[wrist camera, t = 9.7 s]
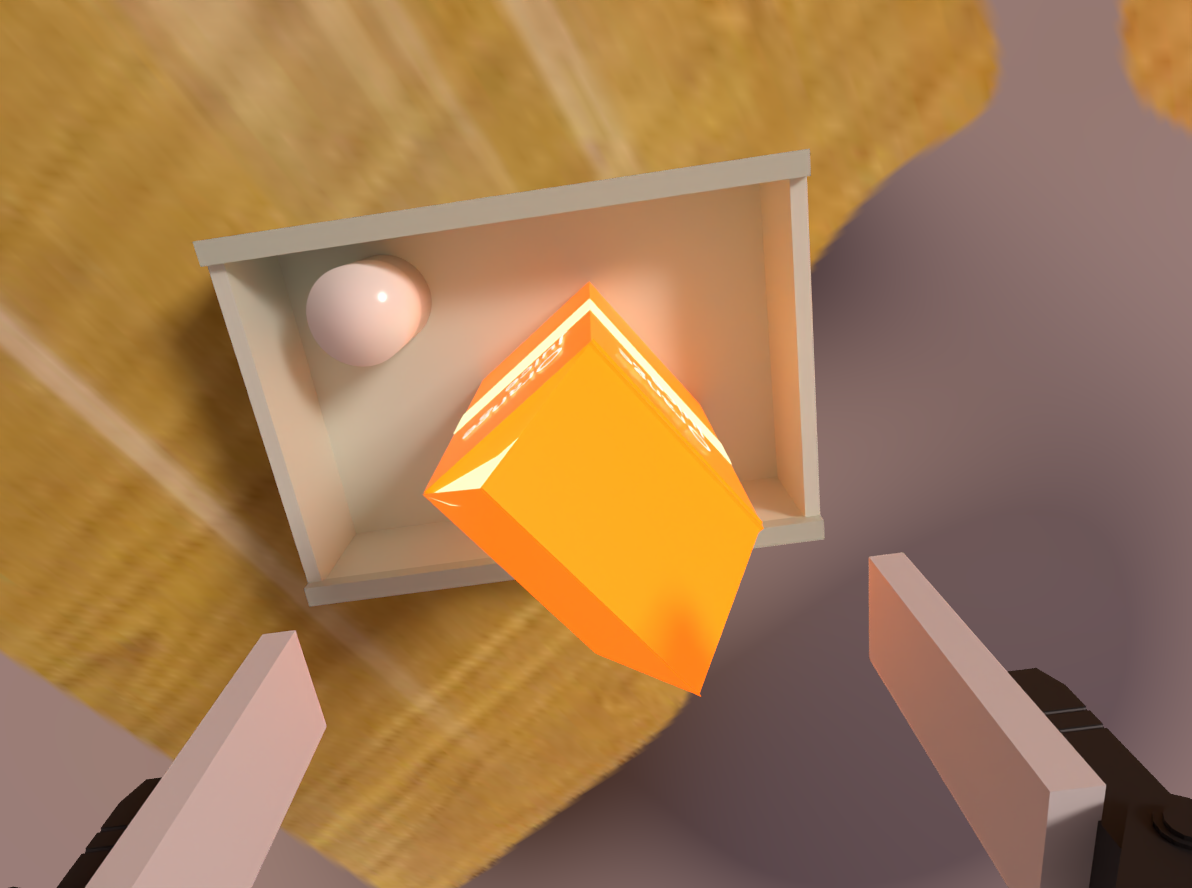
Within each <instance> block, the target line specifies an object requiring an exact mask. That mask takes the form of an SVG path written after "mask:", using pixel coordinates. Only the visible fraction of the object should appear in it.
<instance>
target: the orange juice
mask: <svg viewBox="0 0 1192 888" xmlns="http://www.w3.org/2000/svg"><path fill="white" fill-rule="evenodd" d="M453 434H454V436H453V438H452V440H451V442H450V444H449V446H448V448H447V449H446V451H445V453H444V455H443V457H442V459H441V461H440V463H439V465H438V466H437V468H436V470H435V472H434V474H433V476H432V478H431V480H430V482H429V483H428V485H427V487H426V489H425V491H424V494H423V495H424V496H425V497H426V498H427V499H428V500H429V501H430V502H431V503H432V504H433V505H434V506H436V507H437V508H438V509H439V510H440V511H441V512H442V513H443V514H444V515H445V516H446V517H448V518H449V519H450V520H451V521H452V522H453V523H454V524H455V525H456V526H457V527H458V528H460V529H461V530H462V531H463V532H464V533H465V534H466V535H467V536H468V537H469V538H470V539H472V540H473V541H474V542H475V543H476V544H477V545H478V546H479V547H480V548H481V549H482V550H484V551H485V552H486V553H487V554H488V555H489V556H490V557H491V558H492V559H493V560H494V561H496V562H497V563H498V564H499V565H500V566H501V567H502V568H503V569H504V570H505V571H506V572H507V573H509V574H510V575H511V576H512V577H513V578H514V579H515V580H516V581H517V582H518V583H519V584H521V585H522V586H523V587H524V588H525V589H526V590H527V591H528V592H529V593H530V594H531V595H533V596H534V597H535V598H536V599H537V600H538V601H539V602H540V603H541V604H542V605H543V606H545V607H546V608H547V609H548V610H549V611H550V612H551V613H552V614H553V615H554V616H555V617H557V618H558V619H559V620H560V621H561V622H562V623H563V624H564V625H565V626H566V627H567V628H569V629H570V630H571V631H572V632H573V633H574V634H575V635H576V636H577V637H578V638H579V639H580V640H582V641H583V642H584V643H585V644H586V645H587V646H588V647H589V648H590V649H591V650H592V651H594V652H595V653H596V654H598V655H601V656H603V657H606V658H608V659H610V660H613V661H615V662H618V663H620V664H623V665H625V666H628V667H630V668H633V669H635V670H637V671H640V672H642V673H645V674H647V675H650V676H652V677H655V678H657V679H660V680H662V681H664V682H667V683H669V684H672V685H674V686H677V687H679V688H682V689H684V690H687V691H689V692H692V693H694V694H696V695H698V696H700V694H699V693H700V690H701V688H702V685H703V682H704V680H705V677H706V674H707V671H708V669H709V666H710V663H711V661H712V658H713V655H714V652H715V650H716V647H717V644H718V641H719V639H720V636H721V633H722V630H723V628H724V625H725V622H726V620H727V617H728V614H729V612H730V609H731V606H732V603H733V600H734V598H735V595H736V592H737V590H738V587H739V584H740V582H741V579H742V576H743V573H744V570H745V568H746V565H747V563H748V560H749V557H750V554H751V552H752V549H753V546H754V544H755V541H756V538H757V535H758V533H759V532H760V531H761V530H763V529H764V528H763V526H762V521H761V520H760V519H759V517H758V516H757V514H756V512H755V510H754V508H753V506H752V504H751V503H750V501H749V499H748V497H747V495H746V493H745V491H744V489H743V487H742V485H741V483H740V481H739V479H738V477H737V475H736V473H735V472H734V470H733V468H732V466H731V464H732V463H731V461H730V459H729V458H728V456H727V454H726V452H725V450H724V448H723V446H722V444H721V443H720V442H719V440H718V439H717V437H716V435H715V433H714V431H713V429H712V427H711V425H710V423H709V421H708V419H707V417H706V415H705V413H704V411H703V410H702V408H701V406H700V404H699V403H698V402H697V401H696V400H695V399H694V398H693V396H692V395H691V394H690V393H689V392H688V391H687V390H686V389H685V388H684V386H683V385H682V384H681V383H680V382H679V381H678V380H677V379H676V378H675V376H674V375H673V374H672V373H671V372H670V371H669V370H668V369H667V368H666V366H665V365H664V364H663V363H662V362H661V361H660V360H659V359H658V358H657V356H656V355H655V354H654V353H653V352H652V351H651V350H650V349H649V348H648V346H647V345H646V344H645V343H644V342H643V341H642V340H641V339H640V338H639V336H638V335H637V334H636V333H635V332H634V331H633V330H632V329H631V328H630V326H629V325H628V324H627V323H626V322H625V321H624V320H623V319H622V318H621V316H620V315H619V314H618V313H617V312H616V311H615V310H614V309H613V308H612V306H611V305H610V304H609V303H608V302H607V301H606V300H605V299H604V298H603V296H602V295H601V294H600V293H599V292H598V291H597V290H596V289H595V288H594V286H593V285H592V284H591V283H590V282H588V283H587V284H586V285H585V286H584V287H583V288H582V289H581V290H579V291H578V292H577V293H576V294H575V295H574V296H573V297H572V298H571V299H570V300H569V301H568V302H567V303H566V304H564V305H563V306H562V307H561V308H560V309H559V310H558V311H557V312H556V313H555V314H554V315H553V316H552V317H550V318H549V319H548V320H547V321H546V322H545V323H544V324H543V325H542V326H541V327H540V328H539V329H538V330H537V331H535V332H534V333H533V334H532V335H531V336H530V337H529V338H528V339H527V340H526V341H525V342H524V343H523V344H521V345H520V346H519V347H518V348H517V349H516V350H515V351H514V352H513V353H512V354H511V355H510V356H509V357H507V358H506V359H505V360H504V361H503V362H502V363H501V364H500V365H499V366H498V367H497V368H496V369H495V370H494V371H492V372H491V373H490V374H489V375H488V376H487V377H486V378H485V379H484V380H483V381H482V383H481V385H480V387H479V389H478V391H477V393H476V395H475V396H474V398H473V400H472V402H471V404H470V406H469V408H468V410H467V412H466V413H465V414H464V415H463V417H462V418H461V420H460V422H459V424H458V426H457V428H456V430H455V432H454V433H453Z"/></svg>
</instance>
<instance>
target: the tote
mask: <svg viewBox="0 0 1192 888" xmlns="http://www.w3.org/2000/svg"><path fill="white" fill-rule="evenodd" d="M807 176H811V170H810V149H805V150H798V151H791V152H785V153H778V154H771V155H765V156H758V157H751V158H745V159H738V160H732V161H725V162H718V163H712V164H705V165H698V166H692V167H685V168H678V169H672V170H665V171H659V172H652V173H645V174H639V175H632V176H625V177H619V178H612V179H605V180H599V181H592V182H586V183H579V184H572V185H566V186H559V187H552V188H546V189H539V190H532V191H526V192H519V193H513V194H506V195H499V196H493V197H486V198H479V199H473V200H466V201H459V202H453V203H446V204H440V205H433V206H426V207H420V208H413V209H406V210H400V211H393V212H386V213H380V214H373V215H367V216H360V217H353V218H347V219H340V220H333V221H327V222H320V223H313V224H307V225H300V226H294V227H287V228H280V229H274V230H267V231H260V232H254V233H247V234H240V235H234V236H227V237H221V238H214V239H207V240H201V241H194V242H193V244H194V248H195V251H196V254H197V257H198V260H199V263H200V266H201V267H202V266H208V269H209V272H210V276H211V279H212V282H213V285H214V288H215V291H216V294H217V298H218V301H219V304H220V307H221V310H222V313H223V317H224V320H225V323H226V326H227V329H228V332H229V335H230V339H231V342H232V345H233V348H234V351H235V354H236V357H237V361H238V364H239V367H240V370H241V373H242V376H243V380H244V383H245V386H246V389H247V392H248V395H249V398H250V402H251V405H252V408H253V411H254V414H255V417H256V421H257V424H258V427H259V430H260V433H261V436H262V439H263V443H264V446H265V449H266V452H267V455H268V458H269V462H270V465H271V468H272V471H273V474H274V477H275V480H276V484H277V487H278V490H279V493H280V496H281V499H282V503H283V506H284V509H285V512H286V515H287V518H288V521H289V525H290V528H291V531H292V534H293V537H294V540H295V544H296V547H297V550H298V553H299V556H300V559H301V562H302V566H303V569H304V572H305V575H306V578H307V581H308V584H307V585H306V587H305V588H304V591H305V594H306V597H307V600H308V603H309V607H311V606H318V605H326V604H333V603H341V602H349V601H356V600H364V599H372V598H379V597H387V596H394V595H402V594H410V593H417V592H425V591H433V590H440V589H448V588H455V587H463V586H471V585H478V584H486V583H494V582H501V581H509V580H515V579H514V578H513V577H512V576H511V575H510V574H509V573H507V572H506V571H505V570H504V569H503V568H502V567H501V566H500V565H499V564H498V563H497V562H496V561H494V560H493V559H492V558H491V557H490V556H489V555H488V554H487V553H486V552H485V551H484V550H482V549H481V548H480V547H479V546H478V545H477V544H476V543H475V542H474V541H473V540H472V539H470V538H469V537H468V536H467V535H466V534H465V533H464V532H463V531H462V530H461V529H460V528H458V527H457V526H456V525H455V524H454V523H453V522H452V521H451V520H450V519H449V518H448V517H446V516H445V515H444V514H443V513H442V512H441V511H440V510H439V509H438V508H437V507H436V506H434V505H433V504H432V503H431V502H430V501H429V500H428V499H427V498H426V497H425V496H424V495H423V494H424V491H425V489H426V487H427V485H428V483H429V482H430V480H431V478H432V476H433V474H434V472H435V470H436V468H437V466H438V465H439V463H440V461H441V459H442V457H443V455H444V453H445V451H446V449H447V448H448V446H449V444H450V442H451V440H452V438H453V436H454V434H453V433H454V432H455V430H456V428H457V426H458V424H459V422H460V420H461V418H462V417H463V415H464V414H465V413H466V412H467V410H468V408H469V406H470V404H471V402H472V400H473V398H474V396H475V395H476V393H477V391H478V389H479V387H480V385H481V383H482V381H483V380H484V379H485V378H486V377H487V376H488V375H489V374H490V373H491V372H492V371H494V370H495V369H496V368H497V367H498V366H499V365H500V364H501V363H502V362H503V361H504V360H505V359H506V358H507V357H509V356H510V355H511V354H512V353H513V352H514V351H515V350H516V349H517V348H518V347H519V346H520V345H521V344H523V343H524V342H525V341H526V340H527V339H528V338H529V337H530V336H531V335H532V334H533V333H534V332H535V331H537V330H538V329H539V328H540V327H541V326H542V325H543V324H544V323H545V322H546V321H547V320H548V319H549V318H550V317H552V316H553V315H554V314H555V313H556V312H557V311H558V310H559V309H560V308H561V307H562V306H563V305H564V304H566V303H567V302H568V301H569V300H570V299H571V298H572V297H573V296H574V295H575V294H576V293H577V292H578V291H579V290H581V289H582V288H583V287H584V286H585V285H586V284H587V283H588V282H590V283H591V284H592V285H593V286H594V288H595V289H596V290H597V291H598V292H599V293H600V294H601V295H602V296H603V298H604V299H605V300H606V301H607V302H608V303H609V304H610V305H611V306H612V308H613V309H614V310H615V311H616V312H617V313H618V314H619V315H620V316H621V318H622V319H623V320H624V321H625V322H626V323H627V324H628V325H629V326H630V328H631V329H632V330H633V331H634V332H635V333H636V334H637V335H638V336H639V338H640V339H641V340H642V341H643V342H644V343H645V344H646V345H647V346H648V348H649V349H650V350H651V351H652V352H653V353H654V354H655V355H656V356H657V358H658V359H659V360H660V361H661V362H662V363H663V364H664V365H665V366H666V368H667V369H668V370H669V371H670V372H671V373H672V374H673V375H674V376H675V378H676V379H677V380H678V381H679V382H680V383H681V384H682V385H683V386H684V388H685V389H686V390H687V391H688V392H689V393H690V394H691V395H692V396H693V398H694V399H695V400H696V401H697V402H698V403H699V404H700V406H701V408H702V410H703V411H704V413H705V415H706V417H707V419H708V421H709V423H710V425H711V427H712V429H713V431H714V433H715V435H716V437H717V439H718V440H719V442H720V443H721V444H722V446H723V448H724V450H725V452H726V454H727V456H728V458H729V459H730V461H731V463H732V464H731V466H732V468H733V470H734V472H735V473H736V475H737V477H738V479H739V481H740V483H741V485H742V487H743V489H744V491H745V493H746V495H747V497H748V499H749V501H750V503H751V504H752V506H753V508H754V510H755V512H756V514H757V516H758V517H759V519H760V520H761V521H762V526H763V528H764V529H763V530H761V531H760V532H759V533H758V535H757V538H756V541H755V544H754V546H753V548H760V547H768V546H774V545H775V546H776V545H783V544H790V543H798V542H806V541H814V540H821V539H824V520H823V518H822V517H821V516H820V500H819V499H820V498H819V473H818V448H817V425H816V423H817V422H816V398H815V373H814V347H813V322H812V296H811V271H810V245H809V220H808V195H807ZM374 255H392V256H396V257H399V258H401V259H404V260H406V261H407V262H409V263H410V264H412V265H413V266H414V267H415V268H416V269H417V270H418V271H419V272H420V273H421V274H422V276H423V277H424V279H425V280H426V282H427V284H428V287H429V290H430V293H431V299H432V307H431V313H430V317H429V319H428V322H427V323H426V325H425V327H424V328H423V329H422V330H421V331H420V332H419V333H418V334H417V335H416V336H415V337H414V338H413V339H412V340H411V341H409V342H408V343H407V344H406V345H405V346H404V347H403V348H401V349H400V350H399V351H398V352H397V353H396V354H395V355H394V356H392V357H391V358H390V359H388V360H386V361H384V362H383V363H380V364H377V365H373V366H366V367H361V366H352V365H348V364H345V363H343V362H340V361H338V360H336V359H335V358H333V357H331V356H330V355H329V354H327V353H326V352H325V351H324V350H323V349H322V348H321V347H320V346H319V344H318V343H317V342H316V340H315V339H314V337H313V335H312V333H311V331H310V328H309V326H308V322H307V315H306V305H307V299H308V296H309V293H310V291H311V289H312V287H313V285H314V284H315V282H316V281H317V280H318V279H319V278H320V277H321V276H322V275H324V274H325V273H326V272H328V271H330V270H332V269H334V268H337V267H340V266H343V265H346V264H349V263H352V262H355V261H358V260H361V259H364V258H367V257H370V256H374Z"/></svg>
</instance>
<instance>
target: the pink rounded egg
mask: <svg viewBox="0 0 1192 888" xmlns="http://www.w3.org/2000/svg"><path fill="white" fill-rule="evenodd" d="M431 307H432V299H431V293H430V290H429V287H428V284H427V282H426V280H425V279H424V277H423V276H422V274H421V273H420V272H419V271H418V270H417V269H416V268H415V267H414V266H413V265H412V264H410V263H409V262H407V261H406V260H404V259H401V258H399V257H396V256H392V255H374V256H370V257H367V258H364V259H361V260H358V261H355V262H352V263H349V264H346V265H343V266H340V267H337V268H334V269H332V270H330V271H328V272H326V273H325V274H324V275H322V276H321V277H320V278H319V279H318V280H317V281H316V282H315V284H314V285H313V287H312V289H311V291H310V293H309V296H308V299H307V305H306V315H307V322H308V326H309V328H310V331H311V333H312V335H313V337H314V339H315V340H316V342H317V343H318V344H319V346H320V347H321V348H322V349H323V350H324V351H325V352H326V353H327V354H329V355H330V356H331V357H333V358H335V359H336V360H338V361H340V362H343V363H345V364H348V365H352V366H361V367H366V366H373V365H377V364H380V363H383V362H384V361H386V360H388V359H390V358H391V357H392V356H394V355H395V354H396V353H397V352H398V351H399V350H400V349H401V348H403V347H404V346H405V345H406V344H407V343H408V342H409V341H411V340H412V339H413V338H414V337H415V336H416V335H417V334H418V333H419V332H420V331H421V330H422V329H423V328H424V327H425V325H426V323H427V322H428V319H429V317H430V313H431Z"/></svg>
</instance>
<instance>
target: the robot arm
mask: <svg viewBox="0 0 1192 888" xmlns="http://www.w3.org/2000/svg"><path fill="white" fill-rule="evenodd" d="M869 659H870V661H871V662H872V664H873V665H874V667H875V669H876V671H877V672H878V674H879V675H880V677H881V679H882V680H883V682H884V684H885V685H886V687H887V689H888V690H889V692H890V694H891V695H892V697H893V698H894V700H895V702H896V704H897V705H898V707H899V708H900V710H901V712H902V713H903V715H904V717H905V718H906V720H907V722H908V723H909V725H910V726H911V728H912V730H913V731H914V733H915V735H916V736H917V738H918V740H919V741H920V743H921V745H922V746H923V748H924V749H925V751H926V753H927V754H928V756H929V758H930V759H931V761H932V763H933V764H934V766H935V768H936V769H937V771H938V772H939V774H940V776H941V778H942V779H943V781H944V782H945V784H946V786H947V787H948V789H949V791H950V792H951V794H952V796H953V797H954V799H955V801H956V802H957V804H958V806H959V807H960V809H961V811H962V812H963V814H964V815H965V817H966V819H967V820H968V822H969V824H970V825H971V827H972V828H973V830H974V832H975V833H976V835H977V837H978V838H979V840H980V842H981V843H982V845H983V847H984V848H985V850H986V851H987V853H988V855H989V856H990V858H991V860H992V861H993V863H994V865H995V866H996V868H997V870H998V871H999V873H1000V875H1001V876H1002V878H1003V880H1004V881H1005V883H1006V885H1007V886H1008V888H1192V799H1190V798H1186V797H1182V796H1178V795H1173V794H1170V793H1169V792H1168V791H1167V790H1166V789H1165V788H1164V787H1163V786H1162V785H1161V784H1160V783H1159V782H1158V781H1157V779H1156V778H1155V777H1154V776H1153V775H1152V774H1151V773H1150V772H1149V771H1148V770H1147V769H1146V768H1145V767H1144V766H1143V765H1142V764H1141V763H1140V762H1139V761H1138V760H1137V759H1136V758H1135V757H1134V756H1133V755H1132V754H1131V753H1130V752H1129V750H1128V749H1127V748H1125V746H1124V745H1123V744H1122V743H1121V742H1120V741H1119V740H1118V739H1117V738H1116V737H1115V736H1114V735H1113V734H1112V733H1111V732H1110V731H1109V730H1108V729H1107V728H1104V727H1103V724H1102V723H1101V721H1100V720H1099V719H1098V718H1097V717H1095V715H1094V714H1093V713H1092V712H1091V711H1087V709H1086V706H1085V705H1084V704H1083V703H1082V702H1081V701H1080V700H1079V699H1078V698H1077V697H1076V696H1075V695H1074V694H1073V693H1072V691H1070V690H1069V688H1068V687H1067V686H1066V685H1064V684H1063V683H1061V682H1059V681H1058V680H1056V679H1054V678H1052V677H1051V676H1049V675H1047V674H1045V673H1044V672H1042V671H1040V670H1039V669H1037V668H1034V669H1033V668H1032V669H1024V670H1016V671H1008V672H1007V671H1006V670H1005V669H1004V668H1003V666H1002V665H1001V664H1000V663H999V662H998V661H997V659H996V658H995V657H994V656H993V655H992V654H991V653H990V651H989V650H988V649H987V648H986V647H985V646H984V645H983V644H982V642H981V641H980V640H979V639H978V638H977V637H976V636H975V634H974V633H973V632H972V631H971V630H970V629H969V627H968V626H967V625H966V624H965V623H964V622H963V621H962V619H961V618H960V617H959V616H958V615H957V614H956V613H955V611H954V610H953V609H952V608H951V607H950V606H949V605H948V603H947V602H946V601H945V600H944V599H943V598H942V597H941V595H940V594H939V593H938V592H937V591H936V590H935V589H934V587H933V586H932V585H931V584H930V583H929V582H928V581H927V579H926V578H925V577H924V576H923V575H922V574H921V572H920V571H919V570H918V569H917V568H916V567H915V566H914V564H913V563H912V562H911V561H910V560H909V559H908V558H907V556H906V555H905V554H904V553H903V552H902V553H895V554H887V555H879V556H872V557H869ZM325 729H326V723H325V720H324V717H323V713H322V710H321V707H320V704H319V701H318V698H317V695H316V692H315V689H314V686H313V683H312V680H311V677H310V674H309V671H308V667H307V664H306V661H305V658H304V655H303V652H302V649H301V646H300V643H299V640H298V637H297V634H296V631H295V630H293V631H285V632H277V633H269V634H262V636H261V637H260V639H259V640H258V642H257V643H256V644H255V646H254V647H253V649H252V650H251V652H250V653H249V654H248V656H247V657H246V659H245V660H244V662H243V663H242V664H241V666H240V667H239V669H238V670H237V672H236V673H235V674H234V676H233V677H232V679H231V680H230V682H229V683H228V684H227V686H226V687H225V689H224V690H223V691H222V693H221V694H220V696H219V697H218V699H217V700H216V701H215V703H214V704H213V706H212V707H211V709H210V710H209V711H208V713H207V714H206V716H205V717H204V719H203V720H202V721H201V723H200V724H199V726H198V727H197V729H196V730H195V731H194V733H193V734H192V736H191V737H190V739H189V740H188V741H187V743H186V744H185V746H184V747H183V748H182V750H181V751H180V753H179V754H178V756H177V757H176V758H175V760H174V761H173V763H172V764H171V766H170V767H169V768H168V770H167V771H166V773H165V774H164V776H163V777H162V778H154V779H147V780H145V781H144V782H143V783H142V784H141V785H140V786H138V787H137V788H136V789H135V790H134V791H133V792H132V793H130V794H129V795H128V796H127V797H126V798H125V799H123V800H122V801H121V802H120V803H119V804H118V806H117V807H116V808H115V810H114V811H113V812H112V814H111V815H110V816H109V818H108V819H107V820H106V822H105V823H104V824H103V826H102V827H101V832H100V833H97V834H96V835H95V837H94V838H93V839H92V841H91V842H90V844H89V845H88V846H87V847H86V852H85V854H81V855H80V857H79V858H78V860H77V861H76V862H75V864H74V865H73V866H72V868H71V869H70V870H69V872H68V873H67V874H66V876H65V877H64V878H63V880H62V881H61V882H60V884H59V885H58V887H57V888H252V885H253V883H254V881H255V879H256V877H257V875H258V873H259V870H260V868H261V866H262V863H263V862H264V860H265V857H266V855H267V853H268V851H269V849H270V847H271V845H272V842H273V840H274V838H275V836H276V834H277V832H278V830H279V827H280V825H281V823H282V821H283V819H284V817H285V815H286V812H287V810H288V808H289V806H290V804H291V802H292V800H293V797H294V795H295V793H296V791H297V789H298V787H299V784H300V782H301V780H302V778H303V776H304V774H305V772H306V769H307V767H308V765H309V763H310V761H311V759H312V757H313V754H314V752H315V750H316V748H317V746H318V744H319V742H320V739H321V737H322V735H323V733H324V731H325ZM10 888H18V887H10Z"/></svg>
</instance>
